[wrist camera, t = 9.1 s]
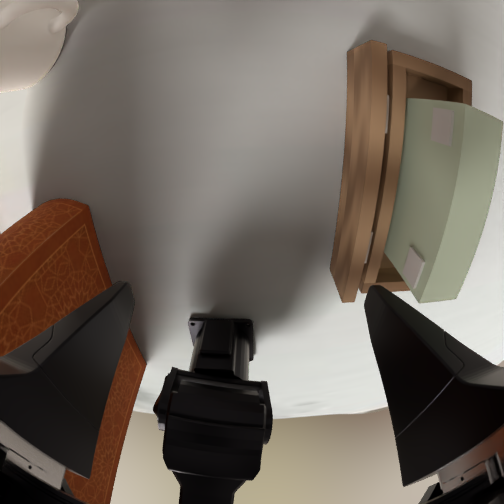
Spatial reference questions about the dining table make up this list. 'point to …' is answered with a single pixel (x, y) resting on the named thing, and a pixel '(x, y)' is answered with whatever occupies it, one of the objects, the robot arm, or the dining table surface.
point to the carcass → (378, 158)
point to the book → (57, 307)
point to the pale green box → (442, 195)
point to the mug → (31, 39)
